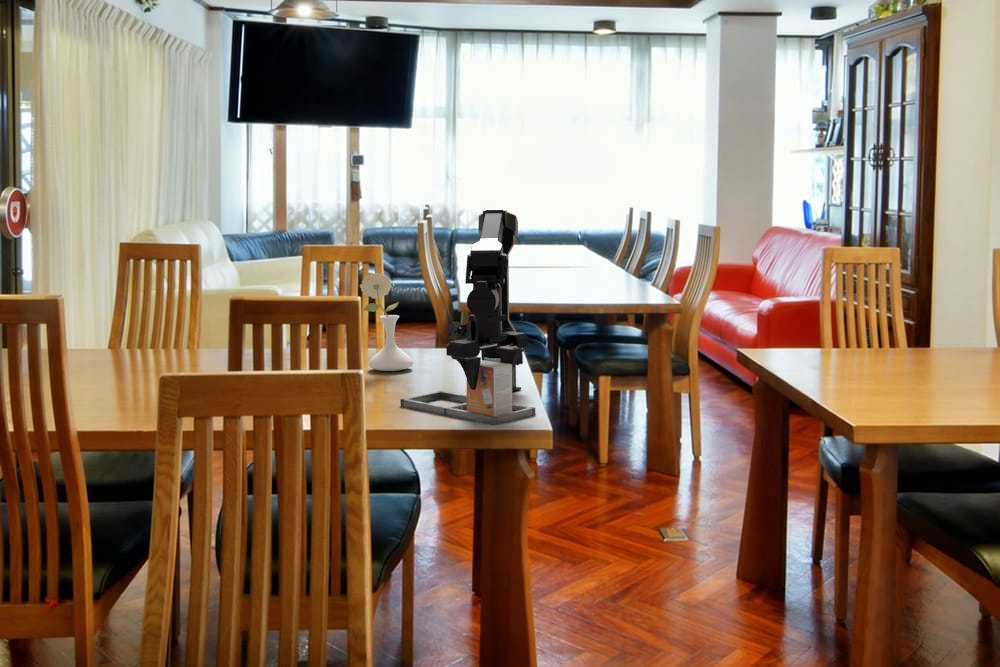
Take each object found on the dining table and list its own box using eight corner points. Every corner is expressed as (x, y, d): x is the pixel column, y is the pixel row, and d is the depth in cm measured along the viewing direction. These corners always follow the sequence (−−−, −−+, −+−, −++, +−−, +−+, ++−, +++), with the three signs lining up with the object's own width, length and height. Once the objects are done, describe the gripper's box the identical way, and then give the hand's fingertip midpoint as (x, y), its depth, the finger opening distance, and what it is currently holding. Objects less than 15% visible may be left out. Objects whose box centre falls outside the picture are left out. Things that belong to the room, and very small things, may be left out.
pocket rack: (441, 397, 240) (441, 390, 240) (535, 414, 221) (535, 407, 221) (400, 406, 232) (400, 399, 232) (494, 425, 213) (494, 417, 212)
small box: (466, 413, 223) (465, 362, 221) (485, 408, 227) (484, 359, 225) (494, 418, 217) (493, 367, 216) (513, 414, 221) (512, 363, 220)
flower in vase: (417, 366, 281) (414, 269, 277) (409, 374, 269) (406, 273, 266) (367, 366, 282) (364, 270, 278) (357, 374, 271) (354, 274, 267)
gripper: (491, 303, 231) (492, 375, 233) (426, 312, 218) (428, 388, 220) (529, 306, 223) (530, 381, 226) (465, 316, 210) (467, 395, 212)
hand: (489, 386), depth 221 cm, fingers open, 9 cm apart
